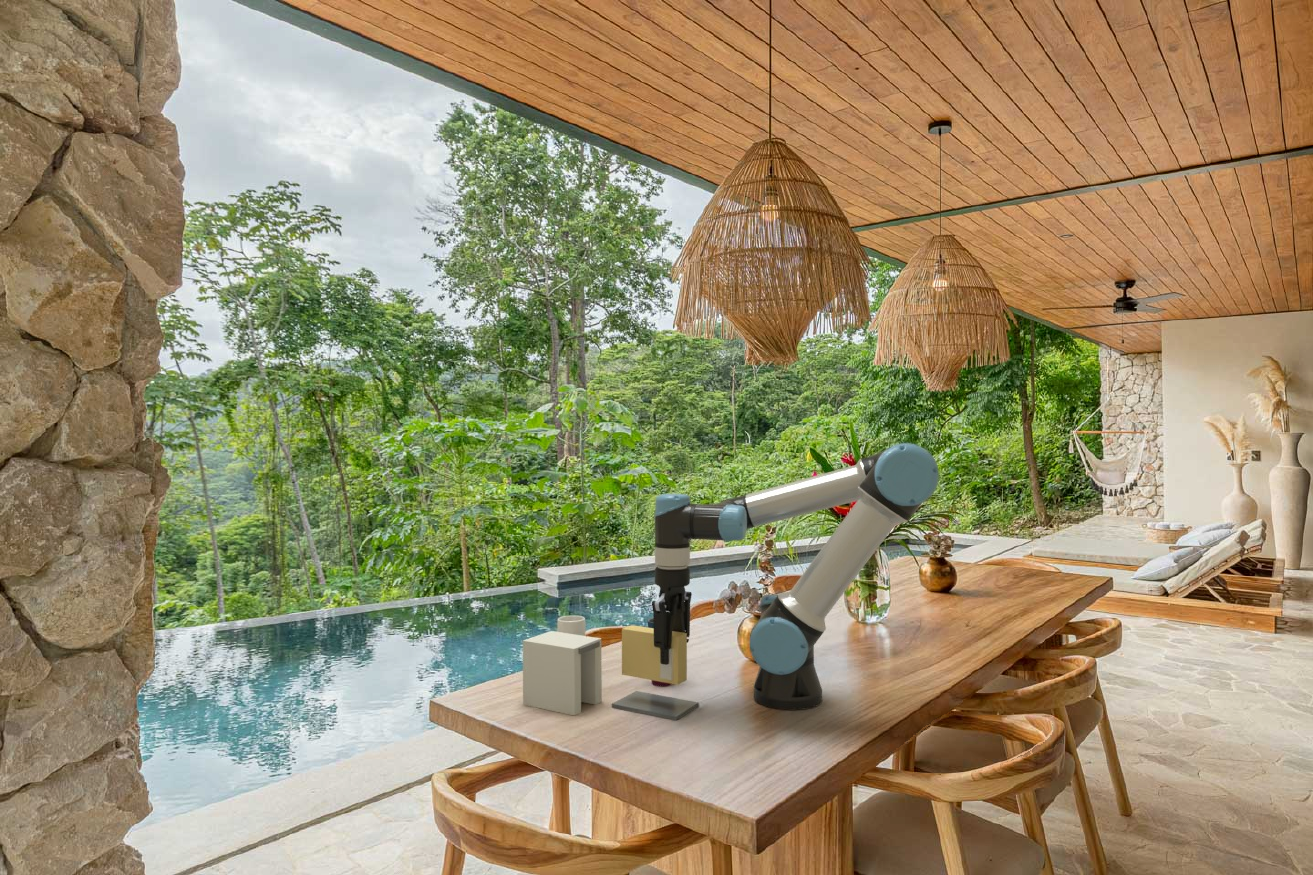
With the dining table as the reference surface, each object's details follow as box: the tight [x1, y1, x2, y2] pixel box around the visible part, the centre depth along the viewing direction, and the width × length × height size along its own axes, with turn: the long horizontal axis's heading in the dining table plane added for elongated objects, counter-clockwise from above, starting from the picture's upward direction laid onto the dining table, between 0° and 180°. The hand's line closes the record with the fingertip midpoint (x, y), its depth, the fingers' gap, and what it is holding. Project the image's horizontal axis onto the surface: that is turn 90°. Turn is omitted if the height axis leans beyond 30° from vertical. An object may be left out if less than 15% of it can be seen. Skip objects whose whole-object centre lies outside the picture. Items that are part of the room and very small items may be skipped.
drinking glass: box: [556, 615, 587, 636], centre depth 188 cm, size 7×7×15 cm
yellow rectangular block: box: [621, 624, 688, 686], centre depth 169 cm, size 14×4×10 cm, turn 59°
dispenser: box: [522, 630, 603, 717], centre depth 172 cm, size 15×10×14 cm
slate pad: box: [611, 690, 700, 721], centre depth 169 cm, size 16×10×1 cm, turn 59°
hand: (672, 675), depth 167 cm, fingers closed on yellow rectangular block, 4 cm apart
